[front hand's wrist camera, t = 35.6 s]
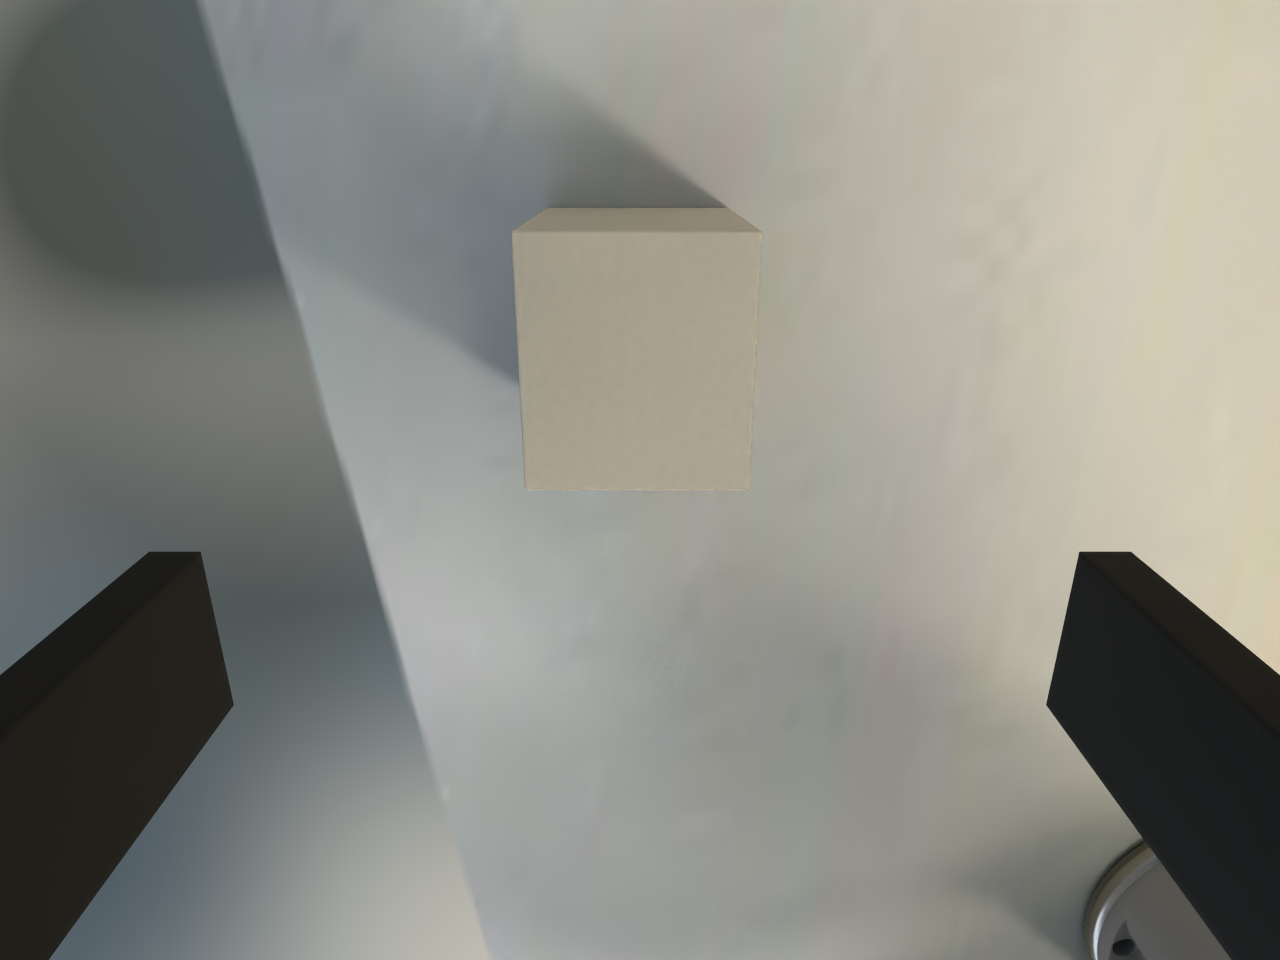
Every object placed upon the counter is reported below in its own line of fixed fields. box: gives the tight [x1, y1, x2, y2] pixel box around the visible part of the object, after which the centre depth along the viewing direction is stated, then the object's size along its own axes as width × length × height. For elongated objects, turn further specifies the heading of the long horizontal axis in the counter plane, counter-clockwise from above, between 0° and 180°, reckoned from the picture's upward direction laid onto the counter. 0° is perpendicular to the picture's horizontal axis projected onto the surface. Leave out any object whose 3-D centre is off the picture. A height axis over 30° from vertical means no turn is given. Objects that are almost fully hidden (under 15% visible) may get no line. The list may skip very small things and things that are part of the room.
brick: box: [511, 208, 762, 490], centre depth 33 cm, size 9×8×11 cm
